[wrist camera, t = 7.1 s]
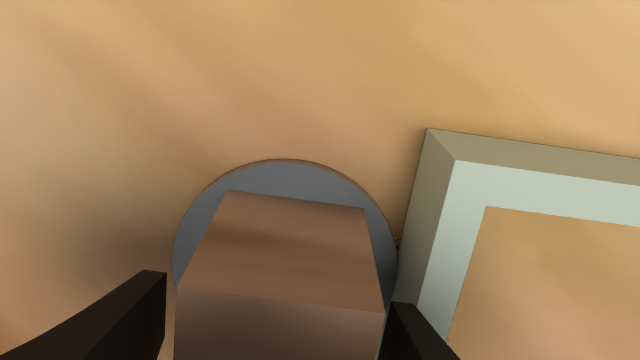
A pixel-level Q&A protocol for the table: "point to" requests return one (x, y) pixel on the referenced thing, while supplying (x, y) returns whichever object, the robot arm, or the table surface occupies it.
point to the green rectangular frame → (497, 191)
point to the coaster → (292, 183)
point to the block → (280, 284)
